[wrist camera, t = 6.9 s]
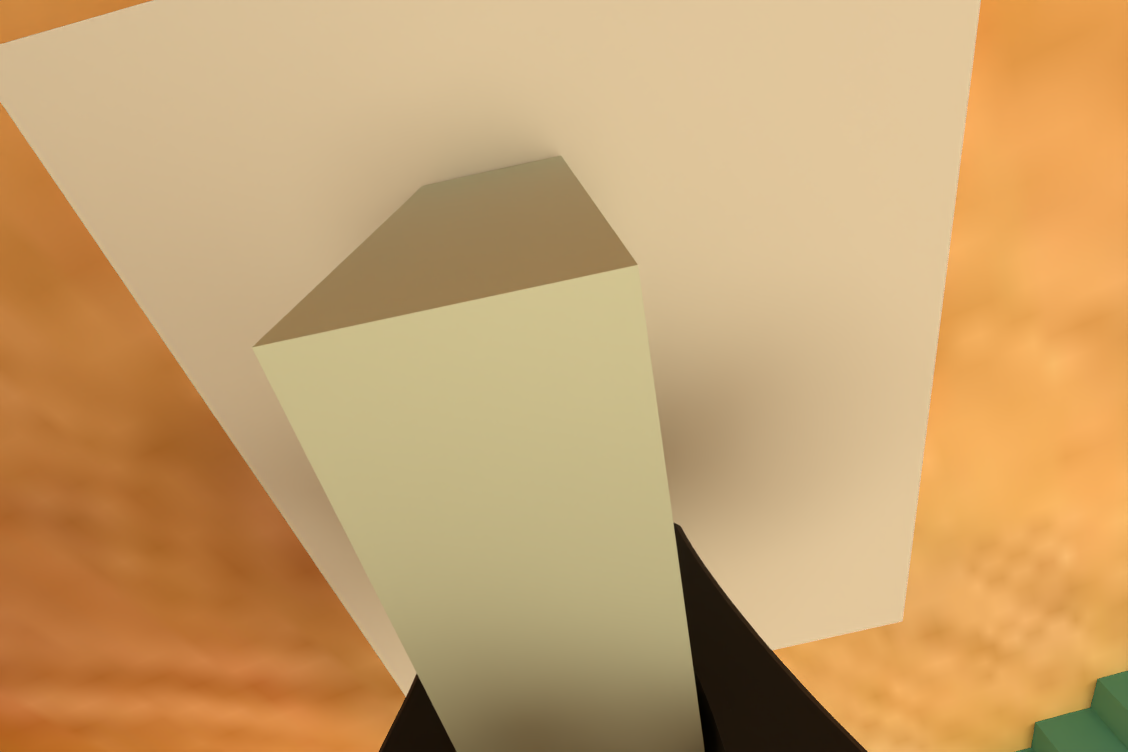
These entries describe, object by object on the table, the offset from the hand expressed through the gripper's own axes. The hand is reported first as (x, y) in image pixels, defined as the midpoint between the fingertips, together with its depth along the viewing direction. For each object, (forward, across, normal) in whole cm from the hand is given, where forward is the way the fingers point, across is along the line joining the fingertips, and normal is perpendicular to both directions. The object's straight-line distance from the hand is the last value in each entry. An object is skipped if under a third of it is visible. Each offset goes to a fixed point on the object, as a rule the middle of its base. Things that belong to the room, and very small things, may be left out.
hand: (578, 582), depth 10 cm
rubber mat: (+4, -1, 0) cm, 5 cm away
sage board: (+3, 0, 0) cm, 3 cm away
